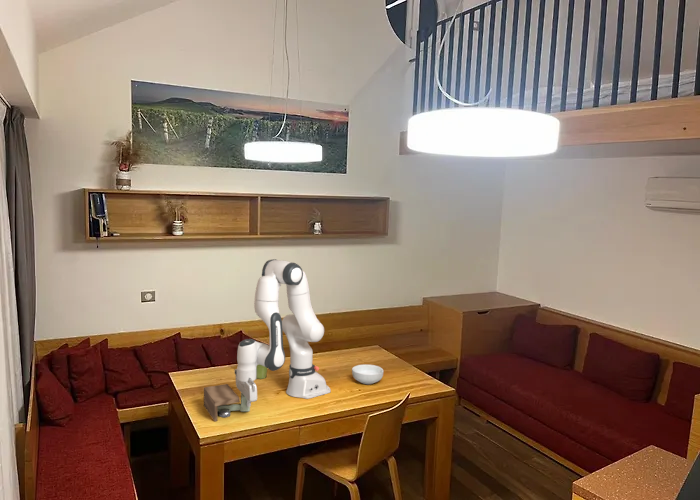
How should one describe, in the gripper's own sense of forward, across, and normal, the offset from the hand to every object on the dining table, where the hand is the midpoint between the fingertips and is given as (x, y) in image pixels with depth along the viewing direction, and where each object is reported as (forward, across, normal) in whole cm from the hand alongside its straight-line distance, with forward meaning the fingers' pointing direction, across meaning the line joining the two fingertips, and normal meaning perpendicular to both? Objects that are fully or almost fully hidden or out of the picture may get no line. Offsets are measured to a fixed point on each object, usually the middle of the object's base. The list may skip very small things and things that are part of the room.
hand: (246, 403), depth 255 cm
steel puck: (+3, -1, +10) cm, 11 cm away
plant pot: (+4, +38, -21) cm, 44 cm away
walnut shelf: (+3, +4, +11) cm, 12 cm away
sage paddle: (+3, +2, +6) cm, 7 cm away
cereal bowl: (+4, +10, -71) cm, 72 cm away
